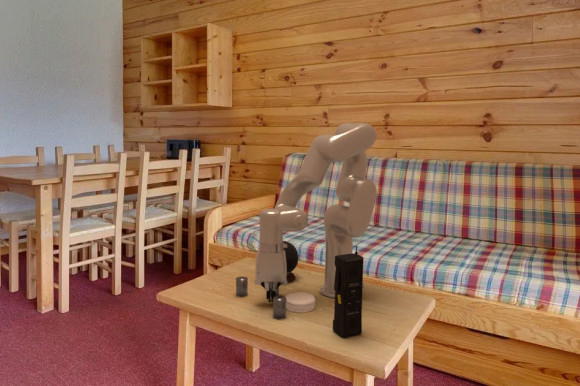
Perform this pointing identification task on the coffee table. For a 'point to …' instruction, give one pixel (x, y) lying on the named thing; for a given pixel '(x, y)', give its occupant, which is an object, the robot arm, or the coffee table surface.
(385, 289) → the coffee table surface
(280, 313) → the posts
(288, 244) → the black ball on stand
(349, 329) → the portable radio
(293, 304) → the coaster
